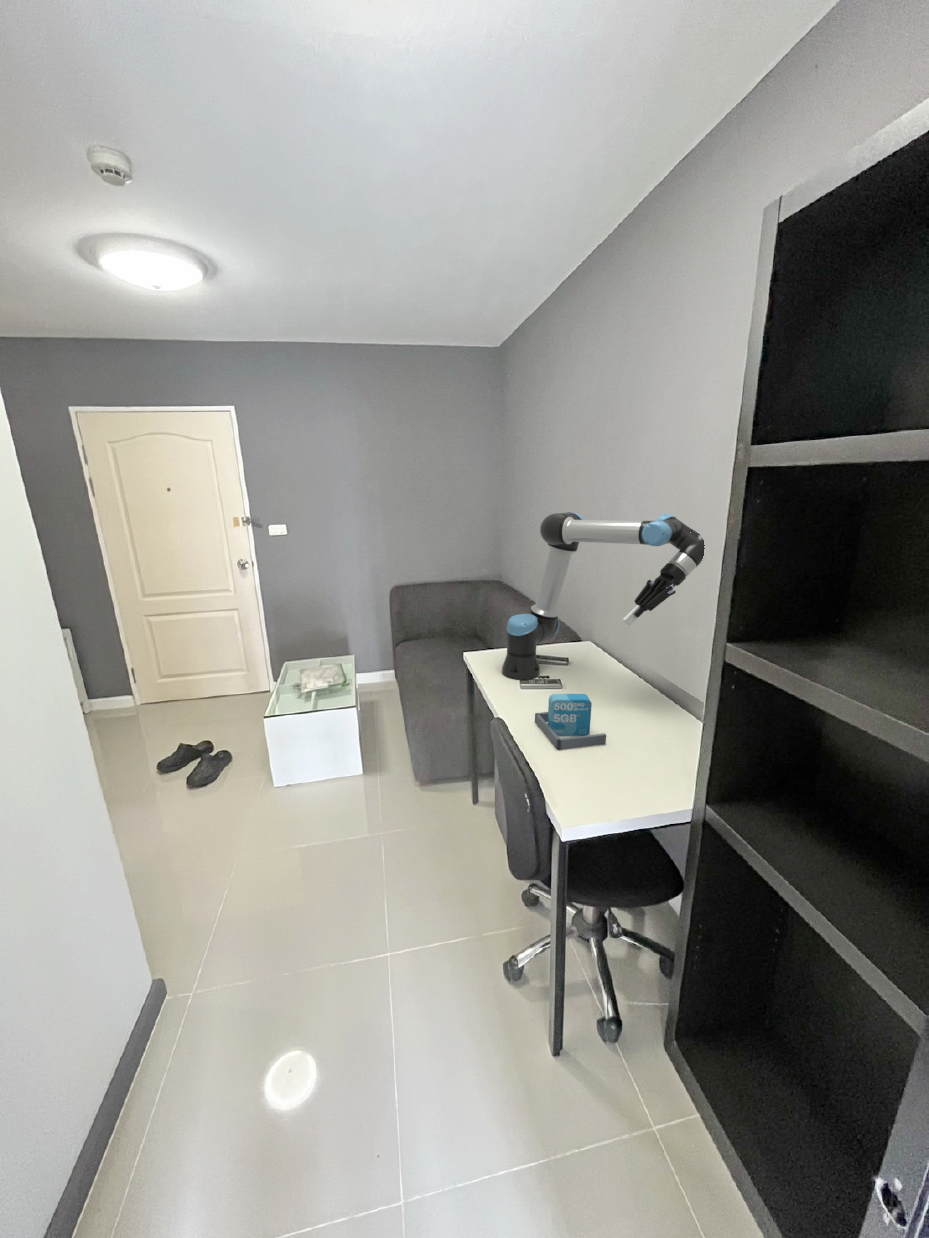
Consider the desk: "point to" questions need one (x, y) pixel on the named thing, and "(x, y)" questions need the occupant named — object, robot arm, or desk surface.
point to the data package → (569, 714)
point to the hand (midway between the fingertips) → (626, 622)
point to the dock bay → (567, 742)
